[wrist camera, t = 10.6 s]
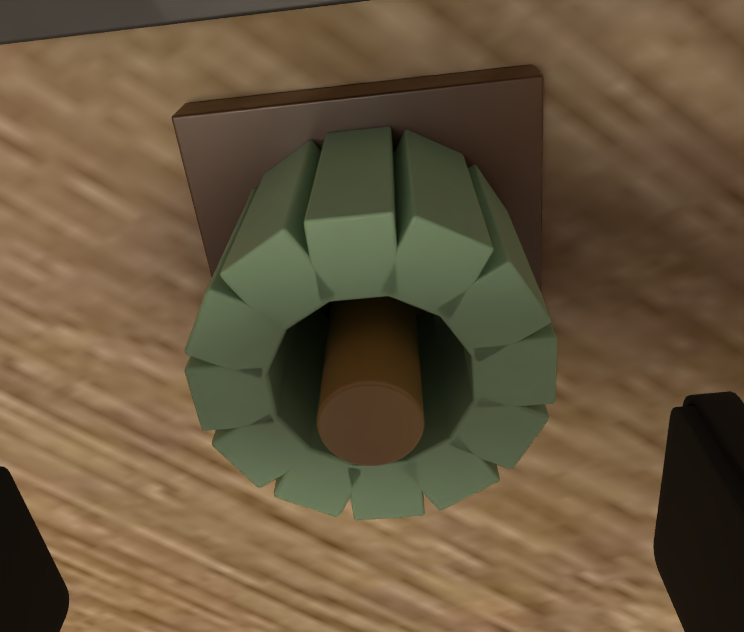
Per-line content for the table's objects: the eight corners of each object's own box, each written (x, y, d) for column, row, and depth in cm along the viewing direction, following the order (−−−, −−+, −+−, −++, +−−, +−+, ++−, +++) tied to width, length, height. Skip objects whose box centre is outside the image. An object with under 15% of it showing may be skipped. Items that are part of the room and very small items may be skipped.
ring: (510, 112, 15) (561, 195, 11) (513, 366, 18) (553, 507, 14) (209, 145, 16) (142, 236, 11) (265, 387, 19) (230, 530, 14)
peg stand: (533, 64, 16) (634, 169, 9) (532, 360, 20) (602, 574, 13) (184, 103, 16) (58, 228, 10) (251, 383, 20) (192, 600, 14)
